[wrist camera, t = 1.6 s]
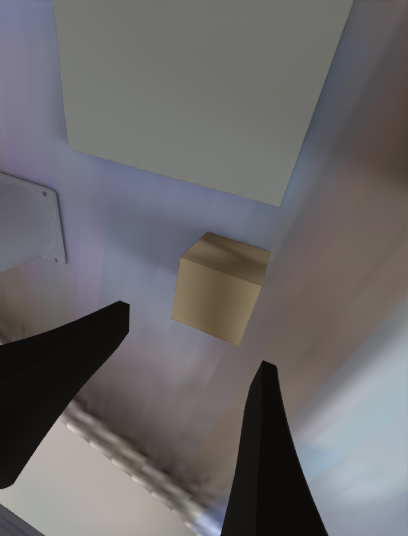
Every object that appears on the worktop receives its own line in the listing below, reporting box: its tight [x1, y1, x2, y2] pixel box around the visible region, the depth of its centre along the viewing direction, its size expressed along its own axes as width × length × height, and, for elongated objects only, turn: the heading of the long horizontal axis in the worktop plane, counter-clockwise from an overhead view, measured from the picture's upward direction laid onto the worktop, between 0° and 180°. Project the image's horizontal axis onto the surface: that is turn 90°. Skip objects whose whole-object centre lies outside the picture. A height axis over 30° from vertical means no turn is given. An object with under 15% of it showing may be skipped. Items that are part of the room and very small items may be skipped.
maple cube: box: [171, 232, 271, 346], centre depth 17 cm, size 5×5×5 cm
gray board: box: [53, 0, 354, 207], centre depth 13 cm, size 16×12×1 cm
